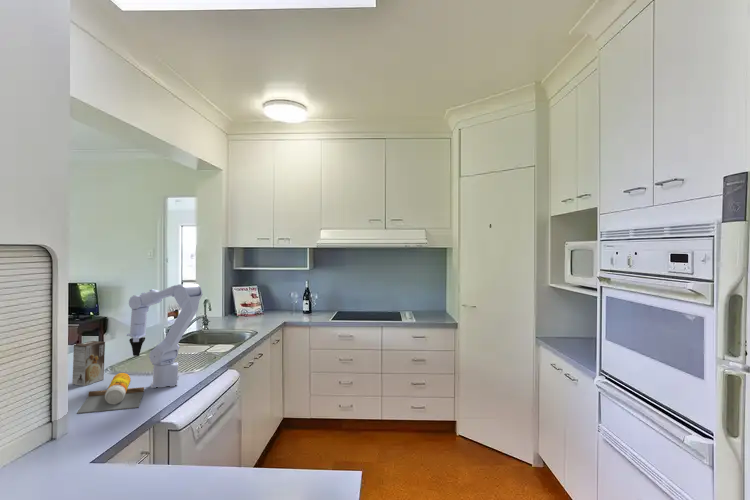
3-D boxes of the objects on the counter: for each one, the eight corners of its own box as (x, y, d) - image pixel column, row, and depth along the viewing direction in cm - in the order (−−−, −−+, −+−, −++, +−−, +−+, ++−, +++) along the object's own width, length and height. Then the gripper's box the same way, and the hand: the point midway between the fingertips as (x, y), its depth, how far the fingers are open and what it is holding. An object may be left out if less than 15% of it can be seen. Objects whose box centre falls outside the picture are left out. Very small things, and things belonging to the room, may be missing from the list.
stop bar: (144, 391, 161) (144, 387, 161) (143, 392, 160) (143, 388, 160) (88, 396, 154) (89, 391, 154) (88, 397, 153) (88, 392, 153)
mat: (143, 392, 160) (143, 391, 160) (138, 407, 145) (138, 406, 145) (88, 397, 153) (88, 396, 153) (76, 413, 137) (76, 412, 137)
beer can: (131, 371, 160) (124, 388, 147) (130, 386, 161) (123, 404, 147) (112, 372, 158) (104, 389, 144) (112, 387, 159) (103, 406, 145)
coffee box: (91, 378, 175) (93, 340, 175) (104, 379, 174) (106, 341, 174) (71, 384, 166) (73, 344, 166) (84, 386, 165) (86, 345, 165)
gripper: (129, 320, 180) (127, 351, 180) (125, 326, 167) (123, 360, 167) (148, 320, 183) (145, 351, 183) (145, 326, 170) (143, 359, 170)
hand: (136, 355), depth 175 cm, fingers closed
